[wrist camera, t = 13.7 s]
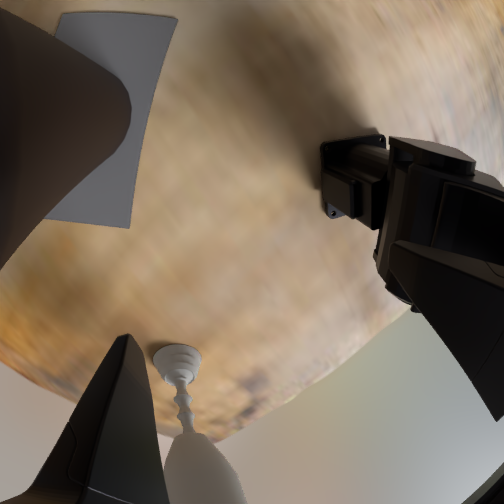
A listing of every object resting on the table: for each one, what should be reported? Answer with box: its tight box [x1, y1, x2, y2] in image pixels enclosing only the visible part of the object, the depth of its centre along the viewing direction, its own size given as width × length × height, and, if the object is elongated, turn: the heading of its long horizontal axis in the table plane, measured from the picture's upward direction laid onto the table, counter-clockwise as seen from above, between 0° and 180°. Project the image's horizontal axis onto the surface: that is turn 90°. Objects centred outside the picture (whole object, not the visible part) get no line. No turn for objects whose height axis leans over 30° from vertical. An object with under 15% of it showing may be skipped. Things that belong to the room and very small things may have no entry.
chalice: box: [153, 344, 247, 504], centre depth 19 cm, size 7×7×18 cm
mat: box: [44, 12, 178, 229], centre depth 14 cm, size 8×15×1 cm, turn 164°
